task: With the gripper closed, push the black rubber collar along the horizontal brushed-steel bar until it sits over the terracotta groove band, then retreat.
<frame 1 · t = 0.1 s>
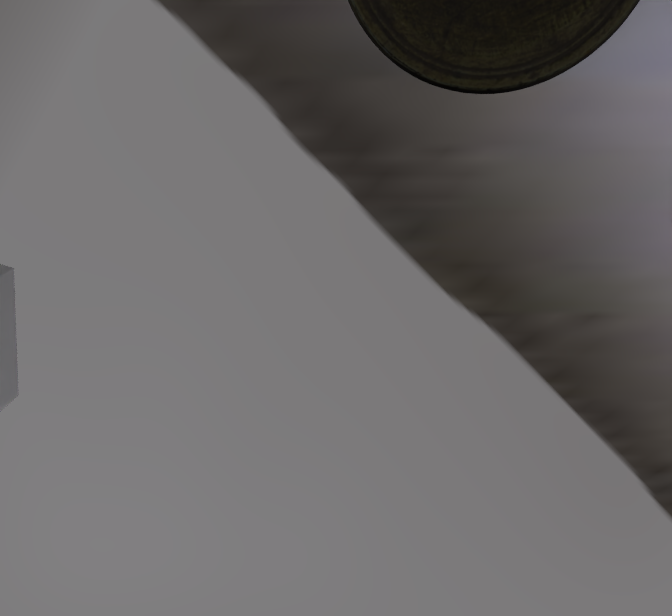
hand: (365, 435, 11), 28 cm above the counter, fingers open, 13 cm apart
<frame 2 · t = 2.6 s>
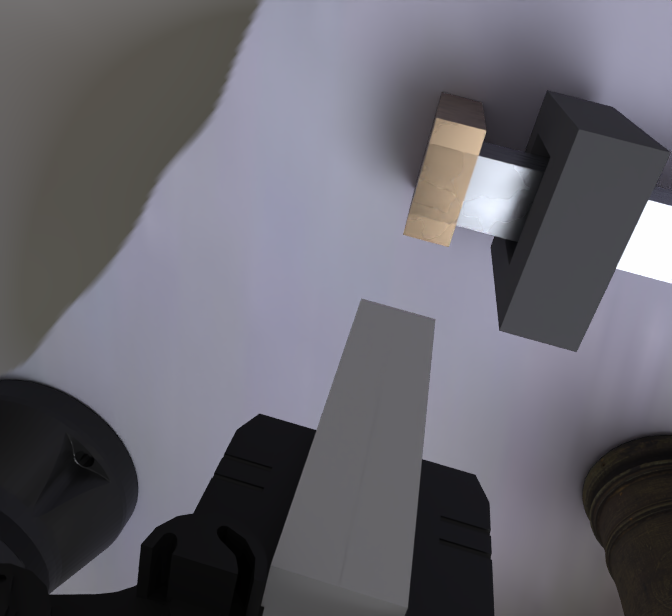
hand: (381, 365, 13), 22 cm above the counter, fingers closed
collar: (560, 210, 26), point 6 cm above the counter, slide at 0.0 cm
container: (659, 488, 39), on the counter
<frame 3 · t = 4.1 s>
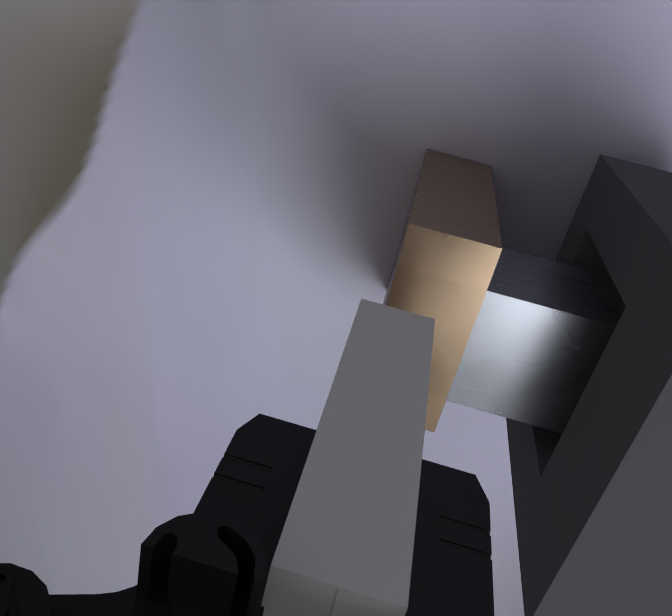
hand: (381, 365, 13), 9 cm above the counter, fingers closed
collar: (631, 375, 15), point 6 cm above the counter, slide at 0.0 cm
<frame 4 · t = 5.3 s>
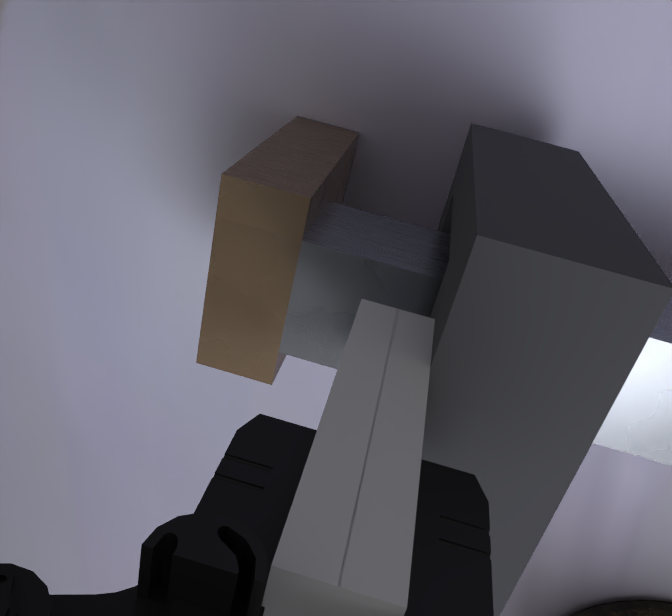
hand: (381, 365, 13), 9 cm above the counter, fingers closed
collar: (482, 335, 15), point 6 cm above the counter, slide at 0.6 cm, touching gripper
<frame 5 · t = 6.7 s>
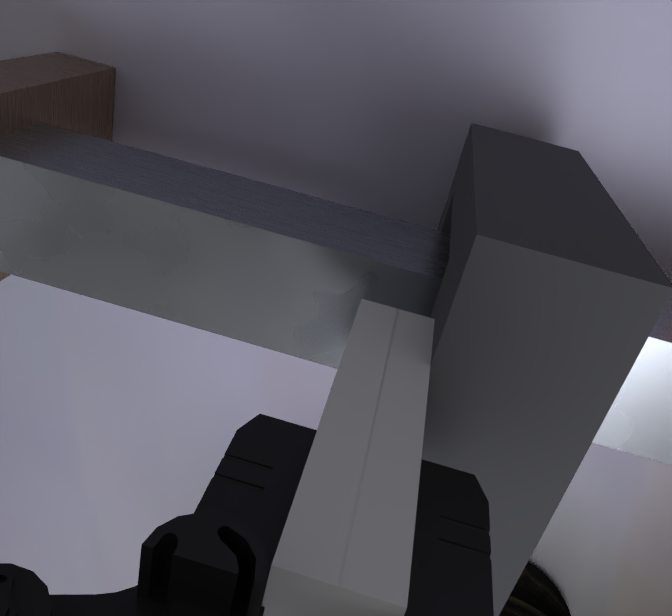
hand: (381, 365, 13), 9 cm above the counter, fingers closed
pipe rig: (487, 247, 21), on the counter
collar: (482, 334, 15), point 6 cm above the counter, slide at 8.7 cm, touching gripper
container: (463, 608, 28), on the counter
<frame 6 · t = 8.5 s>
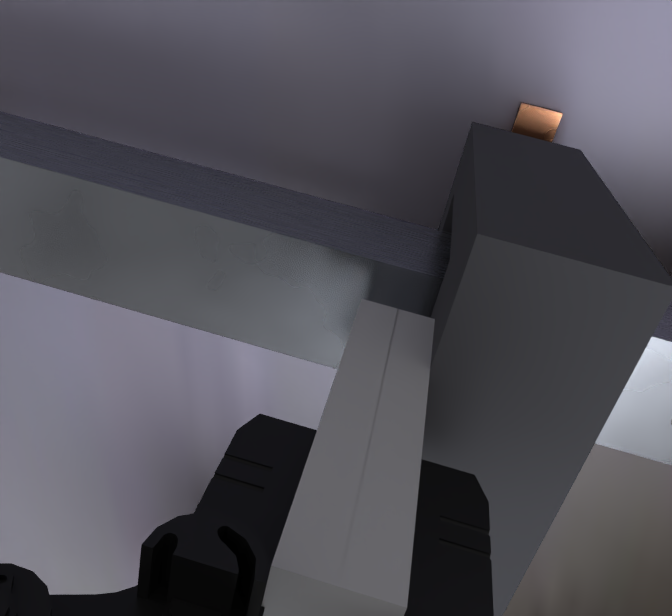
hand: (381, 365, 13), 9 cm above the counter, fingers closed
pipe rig: (283, 191, 21), on the counter
collar: (484, 334, 15), point 6 cm above the counter, slide at 15.6 cm, touching gripper
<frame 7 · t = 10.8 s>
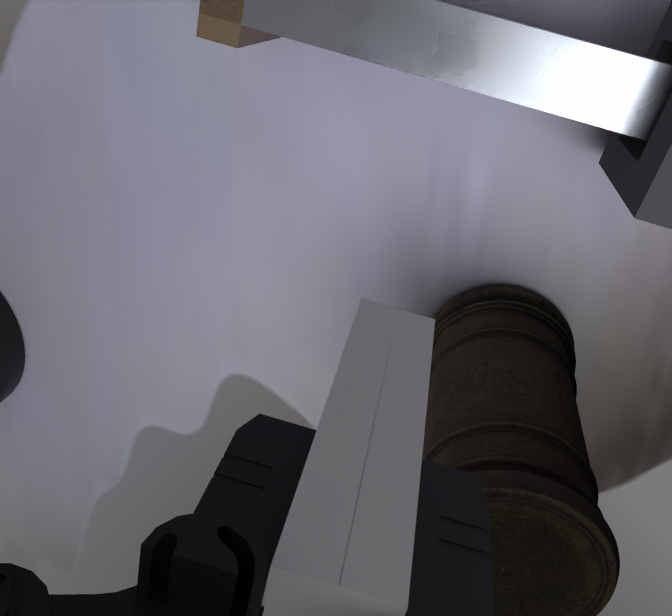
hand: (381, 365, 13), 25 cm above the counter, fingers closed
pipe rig: (527, 54, 33), on the counter
container: (497, 343, 41), on the counter
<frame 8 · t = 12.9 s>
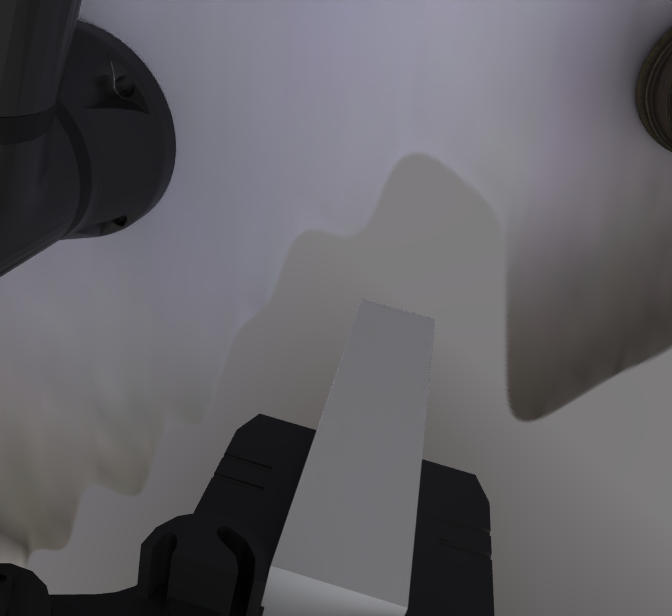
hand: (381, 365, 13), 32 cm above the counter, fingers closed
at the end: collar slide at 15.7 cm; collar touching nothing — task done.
